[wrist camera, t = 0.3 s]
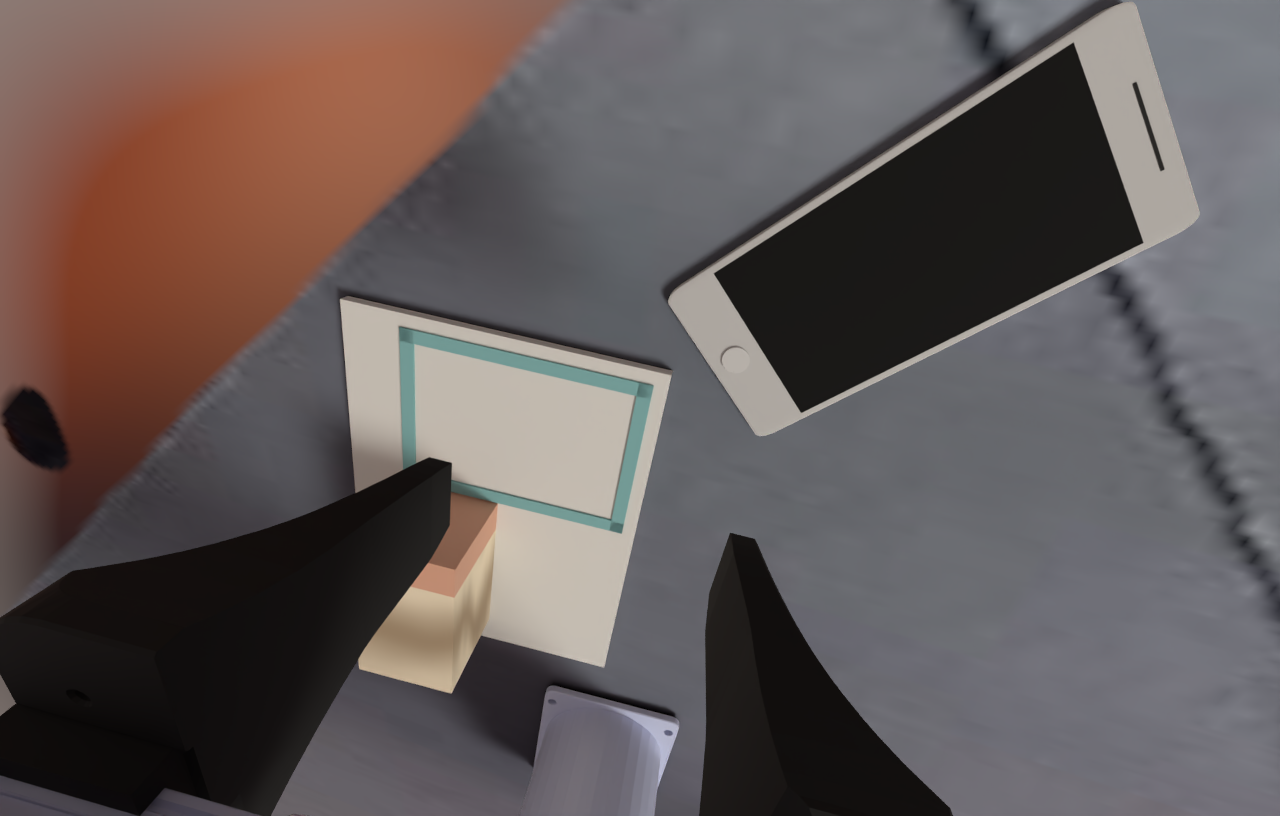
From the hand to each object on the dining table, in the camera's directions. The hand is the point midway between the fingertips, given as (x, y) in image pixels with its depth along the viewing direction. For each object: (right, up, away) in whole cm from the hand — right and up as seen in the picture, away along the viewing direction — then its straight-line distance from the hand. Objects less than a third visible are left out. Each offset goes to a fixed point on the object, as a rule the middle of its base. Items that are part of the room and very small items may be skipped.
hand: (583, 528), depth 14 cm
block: (-8, -4, +14) cm, 17 cm away
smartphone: (+11, +8, +6) cm, 15 cm away
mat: (-6, -2, +13) cm, 14 cm away
